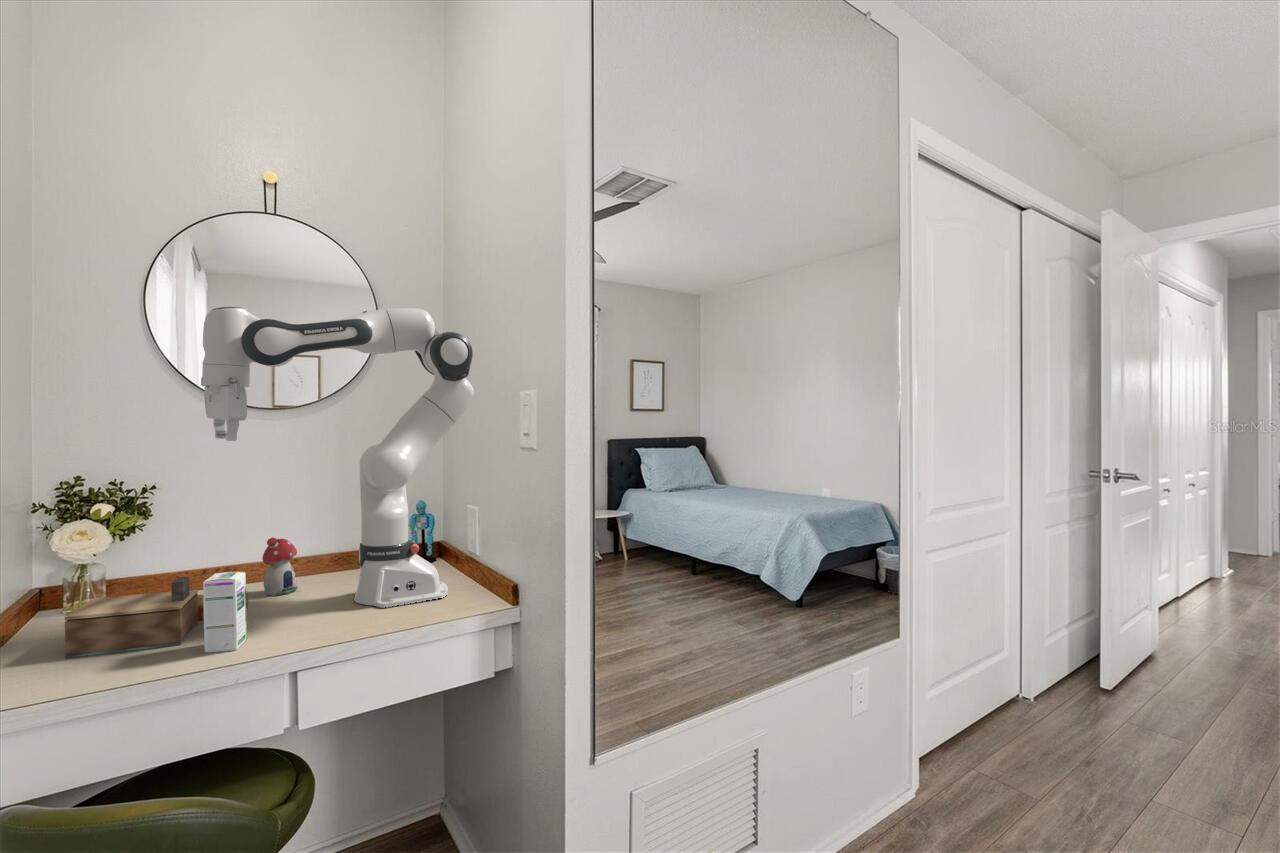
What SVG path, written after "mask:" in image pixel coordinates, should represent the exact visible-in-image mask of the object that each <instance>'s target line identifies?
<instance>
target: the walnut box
mask: <svg viewBox="0 0 1280 853" xmlns="http://www.w3.org/2000/svg"><path fill="white" fill-rule="evenodd" d="M198 595H199V593H198V592H197V593H196V594H195V595H194V596H193V597H192V598H191V599H190V600H189V601H188V602H187V603H186V604H185V605H184V606H183V607H182V608H181V609H178V610H167V611H157V612H146V613H136V614H125V615H115V616H104V617H93V618H83V619H72V620H64V646H65V648H64V650H65V652H64V654H65V655H64V656H65V659H69V657H71V658H78V656H79V657H86V655H88V656H95V654H97V655H104V654H113V653H122V652H130V651H140V650H147V649H149V648H150V649H156V648H157V649H158V648H165V647H173V646H174V647H175V645H176V646H181V645H182V644H183V643H184V642H185V641H186V639H188V637H189V636H190V635H191V633H192V632H193V631H195V629H196V628H197V627H198V625H199V621H198ZM150 649H149V650H150Z"/></svg>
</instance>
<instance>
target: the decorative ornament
mask: <svg viewBox="0 0 1280 853" xmlns="http://www.w3.org/2000/svg"><path fill="white" fill-rule="evenodd" d="M266 545H267V547H266V548H265V550H264V552H263V554H262V562H263V564H265V565H268V566H267V567H268V568H267V570H266V572H265V573H264V574H265V575H264V577H263V578H264V579H263V588H264V592H265V594H266V595H267V596H275V597H280V596H284V595H289V594H292V593H295V592H296V590H297V589H298V586H299V583H298V581H297V579H296V573H295V569H294V568H293V566H292V564H291V562H290V560H292V559H293V558H294V557H295V556H297V554H298V550H297V547H296V546H295V545H294V544H293V543H292V542H291V541H290V540H288V539H286V538H276V537H270V538H269V539H267V541H266Z"/></svg>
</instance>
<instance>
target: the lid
mask: <svg viewBox="0 0 1280 853" xmlns="http://www.w3.org/2000/svg"><path fill="white" fill-rule="evenodd" d="M198 591H199V590H198V589H190V576H179V577H178V576H177V577H176V578H175V579H174V580H173V581H171V591H162V592H151V593H140V594H130V595H129V594H128V595H117V596H116V595H114V596H107V597H105V596H104V597H103V596H102V597H93V598H92V599H90V600H88V601H87V602H85V603H84V604H82V605H80V606H79V607H78V608H77V609H75V610H73V611H71V612H70V613H69V614H67V615H66V616H64V621H67V620H72V619H83V618H93V617H104V616H115V615H125V614H136V613H146V612H157V611H167V610H178V609H181V608H182V607H183V606H184V605H185V604H186V603H187V602H188V601H189V600H190V599H191V598H192V597H193V596H194V595H195V594H197V593H198Z"/></svg>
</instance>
